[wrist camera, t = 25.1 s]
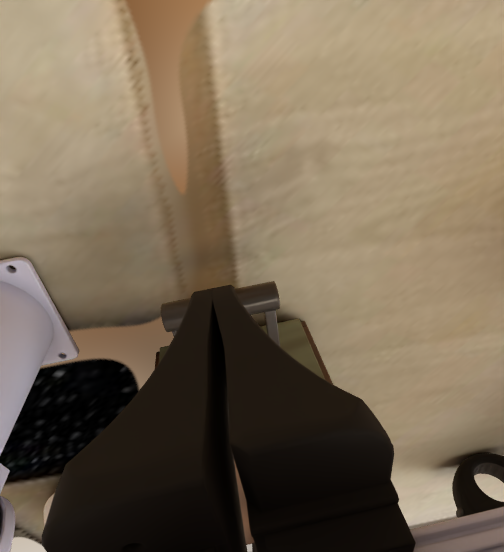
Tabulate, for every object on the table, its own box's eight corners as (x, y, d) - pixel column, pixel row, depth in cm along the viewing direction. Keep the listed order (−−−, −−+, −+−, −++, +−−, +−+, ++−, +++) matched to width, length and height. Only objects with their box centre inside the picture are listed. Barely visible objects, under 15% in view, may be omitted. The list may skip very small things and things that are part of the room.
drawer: (131, 272, 22) (113, 348, 16) (293, 240, 22) (328, 303, 17) (197, 447, 32) (200, 531, 26) (307, 422, 32) (332, 499, 27)
